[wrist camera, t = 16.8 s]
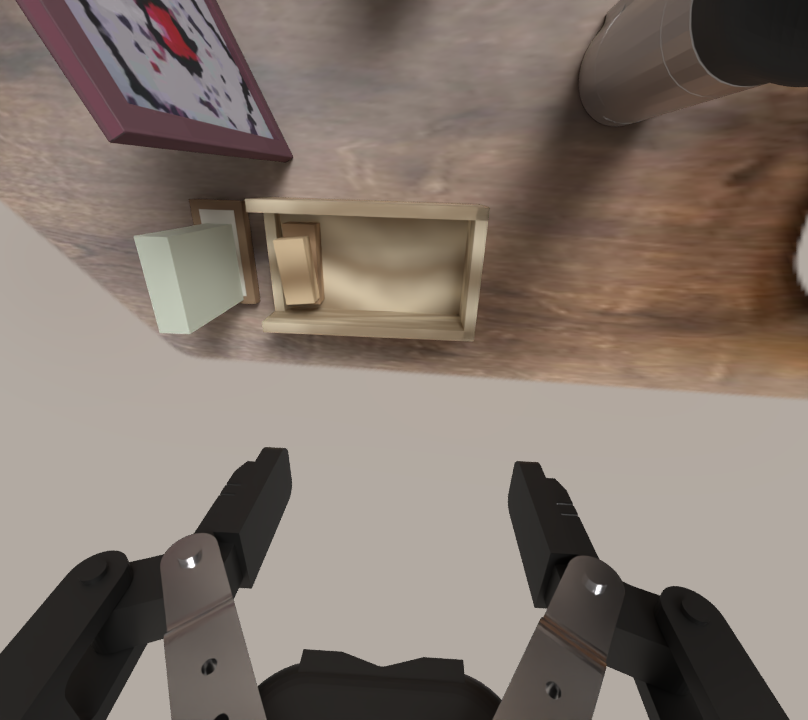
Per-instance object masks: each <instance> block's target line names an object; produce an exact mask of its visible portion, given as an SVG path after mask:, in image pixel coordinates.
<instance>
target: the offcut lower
mask: <svg viewBox="0 0 808 720" xmlns="http://www.w3.org/2000/svg"><path fill="white" fill-rule="evenodd" d="M282 231H283V237H296V236H309V238H310V244H311V250H312V255H313V261H314V267H315V273H316V279H317V284H318V290H319V296H320V297H319V299H318V300H317V301H316V302H315V303H309V304H321V302H322V301H323V300H324V299H325V296H324V279H323V263H322V247H321V231H320V223H315V222H286V223H282Z"/></svg>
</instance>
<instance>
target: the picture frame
mask: <svg viewBox="0 0 808 720" xmlns="http://www.w3.org/2000/svg"><path fill="white" fill-rule="evenodd" d="M16 2H17V3H18V5H19V6H20V8H21V10H22V11H23V13H24V14H25V16H26V17H27V19H28V20H29V22H30V23H31V25H32V26H33V28H34V29H35V31H36V32H37V34H38V35H39V37H40V38H41V40H42V41H43V43H44V44H45V46H46V47H47V49H48V50H49V52H50V53H51V55H52V56H53V58H54V59H55V61H56V62H57V64H58V65H59V67H60V68H61V70H62V71H63V73H64V75H65V76H66V78H67V79H68V81H69V82H70V84H71V85H72V87H73V88H74V90H75V91H76V93H77V94H78V96H79V97H80V99H81V100H82V102H83V103H84V105H85V106H86V108H87V109H88V111H89V112H90V114H91V115H92V117H93V118H94V120H95V121H96V123H97V124H98V126H99V127H100V129H101V130H102V132H103V133H104V135H105V137H106V138H107V140H108V141H109V142H110V143H118V144H127V145H136V146H145V147H153V148H162V149H171V150H180V151H189V152H198V153H207V154H216V155H225V156H234V157H243V158H252V159H261V160H270V161H279V162H287V161H289V160H290V159H292V158H293V155H292V153H291V151H290V149H289V147H288V145H287V143H286V141H285V139H284V137H283V135H282V133H281V131H280V129H279V127H278V125H277V123H276V121H275V119H274V117H273V115H272V113H271V111H270V109H269V107H268V105H267V103H266V101H265V99H264V97H263V95H262V92H261V90H260V88H259V86H258V84H257V82H256V80H255V78H254V76H253V74H252V72H251V70H250V68H249V66H248V64H247V62H246V60H245V58H244V56H243V54H242V52H241V50H240V48H239V46H238V44H237V42H236V40H235V38H234V36H233V34H232V32H231V30H230V28H229V26H228V23H227V21H226V19H225V17H224V15H223V13H222V11H221V9H220V7H219V5H218V3H217V1H216V0H16Z"/></svg>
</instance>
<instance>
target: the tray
mask: <svg viewBox="0 0 808 720" xmlns="http://www.w3.org/2000/svg"><path fill="white" fill-rule="evenodd" d="M245 205H246V212H256V213H263V215H264V223H265V232H266V240H267V248H268V256H269V264H270V273H271V281H272V289H273V297H274V305H275V312H273V313H272V314H271V315H270V316H269V317H268V318H266V319H265V320H264V321H263V322H262V326H263V332H270V333H292V334H314V335H337V336H359V337H381V338H403V339H426V340H448V341H470V342H474V335H475V326H476V318H477V310H478V301H479V293H480V285H481V276H482V268H483V260H484V251H485V243H486V235H487V226H488V218H489V210H490V208H489V207H486V206H483V205H480V204H455V203H427V202H399V201H370V200H342V199H314V198H286V197H265V198H252V199H245ZM286 222H315V223H320V231H321V247H322V263H323V279H324V296H325V299H324V300H323V301H322V302H321V304H293V305H286V300H285V295H284V291H283V286H282V281H281V277H280V272H279V267H278V263H277V258H276V253H275V249H274V244H273V240H276V239H278V238H282V237H283V231H282V223H286Z"/></svg>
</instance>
